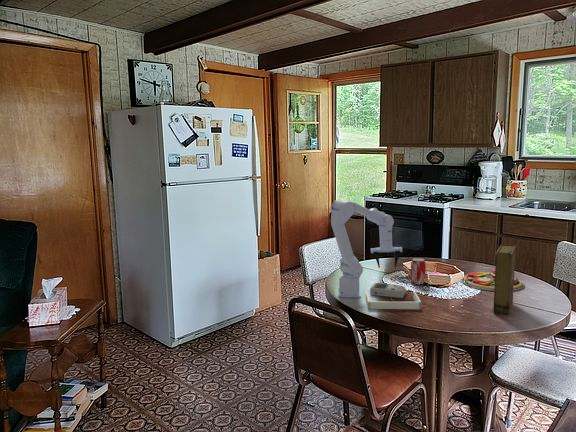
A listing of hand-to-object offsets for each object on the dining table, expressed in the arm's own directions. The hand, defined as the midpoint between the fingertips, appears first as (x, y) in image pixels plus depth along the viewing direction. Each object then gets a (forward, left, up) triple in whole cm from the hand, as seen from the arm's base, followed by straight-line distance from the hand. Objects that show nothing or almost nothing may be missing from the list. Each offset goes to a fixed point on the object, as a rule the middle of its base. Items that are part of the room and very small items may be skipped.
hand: (387, 266), depth 210 cm
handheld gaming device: (-1, -10, -11) cm, 14 cm away
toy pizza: (+51, +7, -11) cm, 52 cm away
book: (+44, -27, -10) cm, 52 cm away
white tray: (0, -23, -10) cm, 25 cm away
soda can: (+16, +6, -10) cm, 20 cm away
